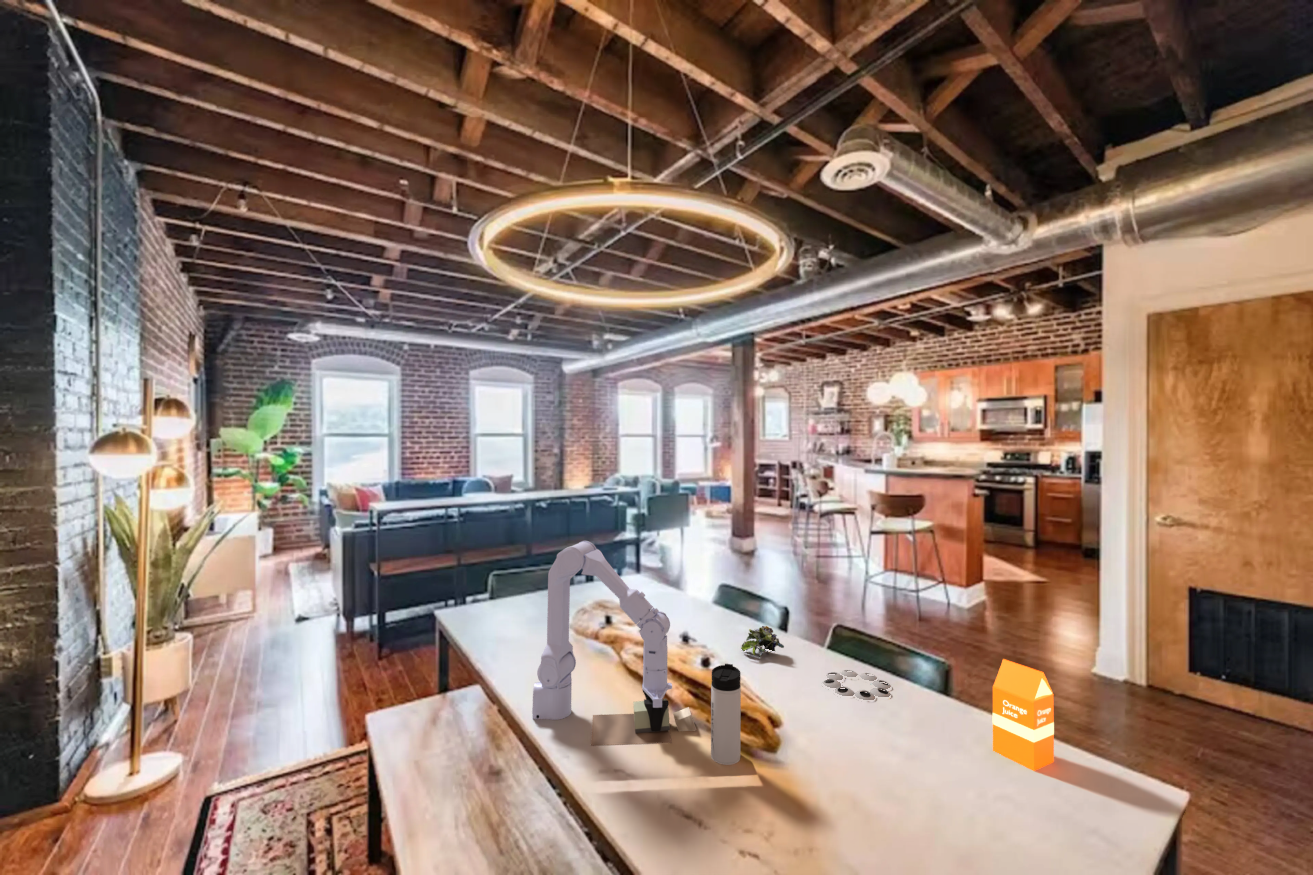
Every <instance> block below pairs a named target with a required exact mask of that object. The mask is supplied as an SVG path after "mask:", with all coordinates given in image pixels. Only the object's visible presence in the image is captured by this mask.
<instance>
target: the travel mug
mask: <svg viewBox="0 0 1313 875" xmlns="http://www.w3.org/2000/svg"><path fill="white" fill-rule="evenodd" d="M710 687H711V688H710V692H711V693H710V694H711V696H710V698H711V700H710V715H711V716H710V756H711V760H713V762H716V763H717V764H719V765H725V766H731V765H735V764H737V763H738V762H740V760H741V724H742V722H741V718H742V717H741V708H742V705H741V703H742V702H741V696H742V694H741V691H742V689H741V688H742V686H741V670H740V669H739V668H737V667H735V666H734V664H733V663H732V664H731V663H724V664H722V665H718V666H715V667H714V668H712V670H711V683H710Z"/></svg>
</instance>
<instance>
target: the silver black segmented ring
mask: <svg viewBox="0 0 1313 875" xmlns="http://www.w3.org/2000/svg"><path fill="white" fill-rule="evenodd" d="M847 671H852V672H847ZM840 673H841V674H842V675H844V676H847V677H856V676H857V675H859V676H860V677H861V678H862V679H864V680H869V681H874V680H876V679H877V678H878V677H877V676H876V675H874V674H873V675H874V676H869V675H867V674H870V672H869V673H867V672H864V673H861V674H858V673H857V672H856V671H854V670H850V669H849V670H848V669H845V670H842V671H841V672H835V671H834V672H828V673H826V674H825V675H826V676H827V678H829V679H827V680H825V679H824V680H823V681H822V683H823V684H824V685H825V686H827V687H830V688H836V689H835V693H837V694H839V695H842V696H853V695H854V694H855V696H856V697H857V698H859V699H863V700H874V699H875V696H878V697H889V696H890V695H892V693H891V691H887V690H886V689H888V688H890V687H891V686H892V684H890V683H889V682H887V681H885V680H882V679H879V680H877V681H874V682H873V683H872V684H873V685H874V686H875V687H877V688H872V689H870V690H865V689H861V690H858V691H856V692H855V691H854V690H852V688H850V687H848V686H843V687H841V684H842V683H840V682H838V681H837V680H842V679H843V676H842V675H840ZM829 674H835V675H829ZM825 681H832V682H825ZM833 681H834V682H833ZM880 682H885V683H887V684H889V685H887V684H883V683H880ZM839 688H845V689H848V690H846V692H840V691H839V690H840V689H839ZM877 689H882V690H881V691H883V690H885V691H887V692H888V693H887V692H886V693H887V694H885V693H883V692H880V690H877ZM869 691H870V692H869ZM885 691H884V692H885ZM860 692H867V693H870V694H869V695H870V696H869V697H866V696H865V697H864V696H863V695H862V694H861V693H860ZM874 695H875V696H874Z"/></svg>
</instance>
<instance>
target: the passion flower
mask: <svg viewBox="0 0 1313 875" xmlns="http://www.w3.org/2000/svg"><path fill="white" fill-rule="evenodd" d="M777 636H778V635H777V634H776V633H774V630H773V628H772V627H769V626H767V625H762V626H760V627H759V628H755V629H754V630H753V629H751V628H749V629H748V636H747V637H746V640H744V641H743V643H742V644H741V647H740V650H741V649H742V650H741V651H743V652H744V651H745V650H747V651H748V650H749V649H752V654H753V656H756V650H758V657H759V656H760V657H761V656H762V654H763V653H765V652H766V650H765V649H769V650H772V651H775V652H776V647H779V648H782V649H784V648H785V646H784V644H782V643H780V638H779V637H778V638H777ZM763 647H764V648H763ZM772 651H771V652H772Z"/></svg>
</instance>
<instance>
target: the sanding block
mask: <svg viewBox="0 0 1313 875" xmlns="http://www.w3.org/2000/svg"><path fill="white" fill-rule="evenodd" d="M663 700H668V699H667V698H663V699H662V701H663ZM632 705H633V714H634V723H635V734H636V733H646V732H656V731H651V727H650V720H649V715H648V712H647V709H646V707H645V705H644V700H638V701H633V703H632ZM670 729H671V726H670V709H669V707H668V708H667V709H666V711H665V714H664V717H663V722H662V727H661V730H660V731H666V730H669V731H671V730H670Z"/></svg>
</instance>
